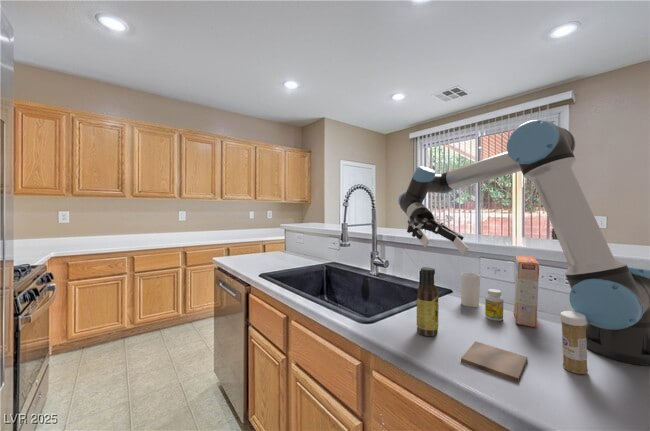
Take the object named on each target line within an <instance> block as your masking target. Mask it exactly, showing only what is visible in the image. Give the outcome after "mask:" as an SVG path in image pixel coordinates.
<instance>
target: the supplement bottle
mask: <svg viewBox="0 0 650 431" xmlns="http://www.w3.org/2000/svg"><path fill="white" fill-rule="evenodd" d="M484 301H485V302H484V303H485V309H484V310H485V311H484V312H485V313H484V314H485V318H487V319H489V320H491V321H497V322H499V321H503V320H504V298H503V297H502V291H501V290H500V289H494V288H489V289H487V295H486V296H485V300H484Z"/></svg>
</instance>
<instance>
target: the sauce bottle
mask: <svg viewBox="0 0 650 431" xmlns="http://www.w3.org/2000/svg"><path fill="white" fill-rule="evenodd" d="M420 274H421V276H420V278H421V280H420V282H421V283H420V285H419V286H418V287H417V291H416V294H417V295H416V332H417V333H418V334H420V335H422V336H425V337H434V336H437V335H438V333H439V331H438V330H439V296H440V295H439V294H440V293H439V290H438V288H437V286H436V285H435V274H436V270H435V268H433V267H426V266H425V267H423V266H422V267H420Z"/></svg>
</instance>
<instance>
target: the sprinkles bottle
mask: <svg viewBox="0 0 650 431" xmlns="http://www.w3.org/2000/svg"><path fill="white" fill-rule="evenodd" d="M559 316H560V321H561V330H562V331H561V332H562V333H561V335H562V336H561V337H562V338H561V340H562V342H561V346H562V347H561V348H562V361H563V363H562V366H563V368H564V369H565V370H566V371H568V372H571V373H573V374H577V375H584V374H587V373H588V372H589V370H588V348H587V343H586V329H585V327H586V323H587V322H586V316H585V315H583V314H581V313H578V312H575V311H574V310H573V311H572V310H564V311H561V312H560V315H559Z"/></svg>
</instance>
